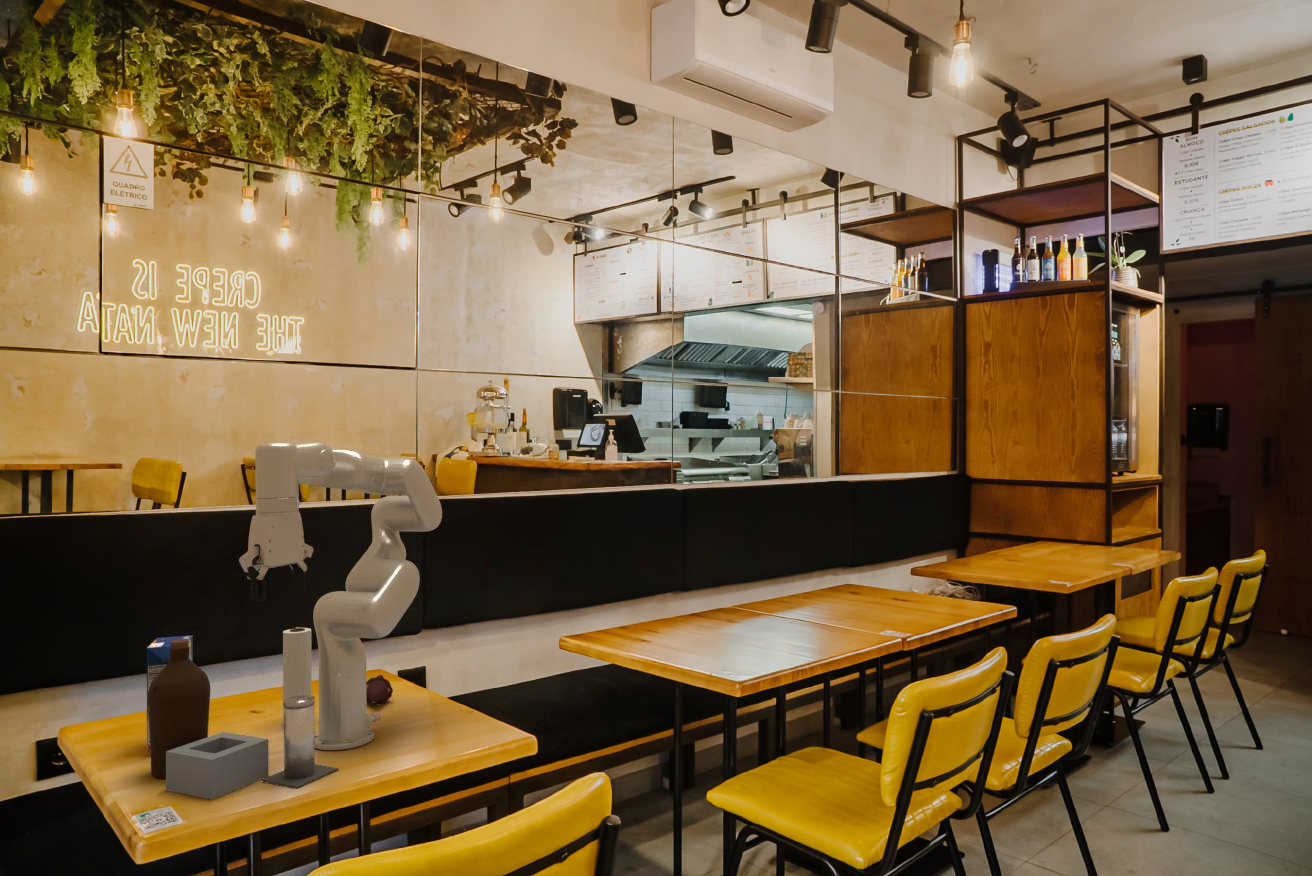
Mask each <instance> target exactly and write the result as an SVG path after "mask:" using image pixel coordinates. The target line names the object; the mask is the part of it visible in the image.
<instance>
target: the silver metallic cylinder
mask: <svg viewBox="0 0 1312 876" xmlns="http://www.w3.org/2000/svg"><path fill="white" fill-rule="evenodd" d="M315 698H316V697H315V696H314V695H312V696H309V695H303V696H294V697H290V698H287V699H285V700H283V699H282V714H283V713H284V726H283V771H284V778H286V779H291V780H294V779H302V778H306V777H309V776H311V775H313V774H314V773H315V764H316V748H315V735H316V733H315V732H316V728H315V723H316V721H315V719H316V718H315V717H316V716H315V704H316V703H315V702H316V700H315Z"/></svg>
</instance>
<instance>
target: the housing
mask: <svg viewBox="0 0 1312 876" xmlns="http://www.w3.org/2000/svg"><path fill="white" fill-rule="evenodd" d="M265 777H266V778H267V777H269V738H263V737H257V736H251V735H245V734H241V733H240V734H238V733H233V732H227V731H222V732H219V733H216V734H213V735H210V736H208V737H207V738H204V739H201V740H198V741H195V742H192V743H189V744H186V745H183V746H180V747H177V748H175V749H172V750H169V751H166V779H165V791H168V792H172V793H177V794H181V795H186V796H191V797H196V798H201V799H206V800H210V801H213V800H215V799H218V798H220V796H221V797H223V796H225V795H228V794H230V793H233V792H235V791H237V789H238V790H240V789H243V788H244V787H243V786H245V787H247V786H249V785H248V784H250V783H252V784H254V783H256V782H255V781H257V782H258V780H259V781H261V780H260V779H263V778H265ZM253 782H254V783H253ZM246 785H247V786H246ZM250 785H251V784H250Z"/></svg>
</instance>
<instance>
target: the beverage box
mask: <svg viewBox="0 0 1312 876" xmlns="http://www.w3.org/2000/svg"><path fill="white" fill-rule="evenodd" d="M193 636H194V635H181V636H180V635H179V636H167V637H166V636H165V637H156V638H155V639H154V640H153V641H152V642H151V643H150V645H148V646H147V647H146V758H151V748H150V728H149V710H148V691H149V687H150V684H151V682H152V680H153V679H154V678H155V677H156V676H157V674H158V673H159V672H160V671H161V670H162V669H163V668H164V667H165V666H166V665H167V664H168V663H169V661H170V648H171V645H170V642H171V641H173V640H178V639H188V640H189V645H188V646H189V647H190V653H189V658H190V660H191V661H192V662H193V663H194V661H193V660H194V659H193V657H194V656H193V654H194V653H193V651H194V650H193V647H194V645H193V643H194V642H193V641H194V639H193Z"/></svg>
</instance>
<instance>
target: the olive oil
mask: <svg viewBox="0 0 1312 876" xmlns="http://www.w3.org/2000/svg"><path fill="white" fill-rule="evenodd" d="M170 645H171V648H170V661H169V663H168V664H167V665H166V666H165V667H164V668H163V669H162V670H161V671H160V672H159V673H158V674H157V676H156V677H155V678H154V679H153V680H152V682H151V684H150V687H149V691H148V710H149V728H150V748H151V757H150V774H151V777H153V778H155V779H161V780H166V751H169V750H172V749H175V748H177V747H180V746H183V745H186V744H189V743H192V742H195V741H198V740H201V739H204V738H207V737H209V722H210V720H209V719H210V705H211V703H210V701H211V682H210V680H209V676H208V675H207V673H206V672H205V671H204V670H203V669H202V668H200V666H198V665H197V664H196V663H195V662H194V661H193V662H192V661H191V660H190V658H189V653H190V647H189V646H188V645H189V640H188V639H178V640H173V641H171V642H170Z"/></svg>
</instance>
